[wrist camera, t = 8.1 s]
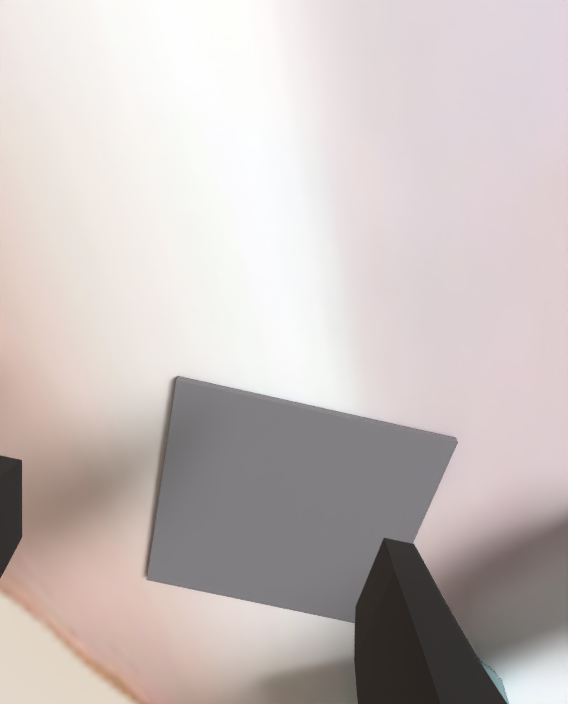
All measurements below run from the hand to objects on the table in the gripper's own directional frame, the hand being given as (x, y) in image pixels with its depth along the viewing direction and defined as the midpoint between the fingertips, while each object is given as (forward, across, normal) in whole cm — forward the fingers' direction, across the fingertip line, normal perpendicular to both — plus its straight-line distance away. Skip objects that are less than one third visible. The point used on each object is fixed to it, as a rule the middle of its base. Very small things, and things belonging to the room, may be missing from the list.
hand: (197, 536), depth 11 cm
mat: (+10, -3, +8) cm, 13 cm away
